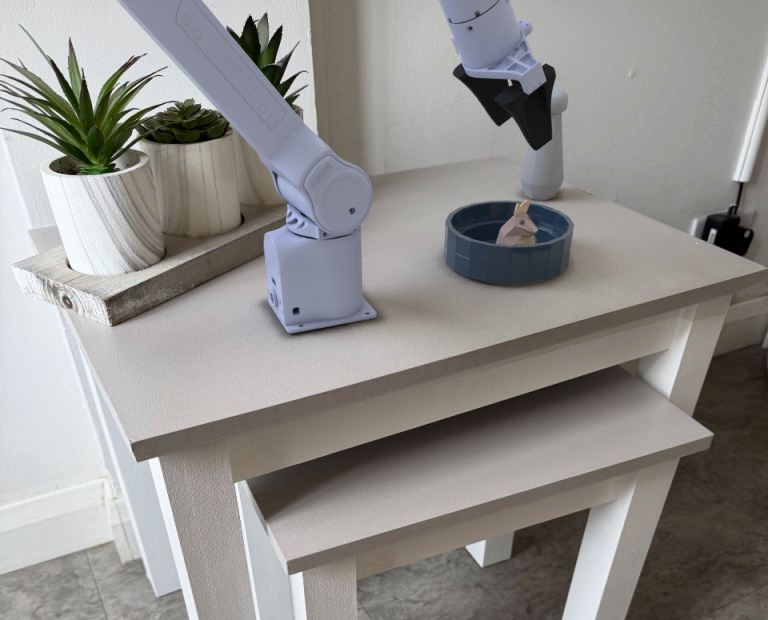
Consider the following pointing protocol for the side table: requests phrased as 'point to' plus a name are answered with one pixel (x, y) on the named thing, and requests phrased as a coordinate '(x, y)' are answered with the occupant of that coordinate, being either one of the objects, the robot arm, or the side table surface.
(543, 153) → the salt shaker
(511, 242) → the mouse figurine
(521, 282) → the bowl
